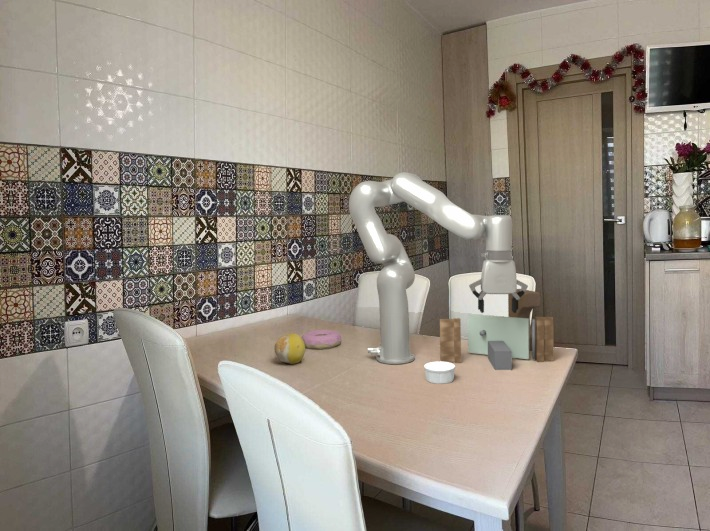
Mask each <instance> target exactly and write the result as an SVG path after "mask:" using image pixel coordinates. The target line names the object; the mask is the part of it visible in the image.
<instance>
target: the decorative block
mask: <svg viewBox="0 0 710 531" xmlns="http://www.w3.org/2000/svg"><path fill="white" fill-rule="evenodd" d="M520 290H521V288H517V291H516V293H518V292H519V291H520ZM507 296H508V297H507V298H508V299H507V300H508V301H507V303H508V306H507V308H508V311H507V312H508V314H507V317H515V318H529V352H532V324H531V313H532V311H533V309H535V308H537V307H540V306H541V293H540V292H539V291H534V290H528V289H526V291H525V293H524V294H523V295H522V296H521V297H520V299H519V300H518V310H516V313H514V312H513V311H512V299H513V296H512V295H511V294H507Z"/></svg>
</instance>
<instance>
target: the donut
mask: <svg viewBox="0 0 710 531" xmlns="http://www.w3.org/2000/svg"><path fill="white" fill-rule="evenodd" d="M300 337H301V338H302V339H303V341H304V344H305V348H307V349H309V350H327V349H332V348H334V347H337V346H339V345H340V344H341V343H342V334H341V333H340V332H338V331H337V330H332V329H315V330H309V331H307V332H305V333H304V334H303V335H302V336H300Z"/></svg>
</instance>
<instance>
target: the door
mask: <svg viewBox="0 0 710 531" xmlns="http://www.w3.org/2000/svg"><path fill="white" fill-rule="evenodd" d="M531 327H532V351H531V357H532V358H531V359H532V360H533V361H536V360H535V318H532V319H531ZM488 341H504V342H505V344H506V345H507V346H508V347H509V348H510V350H511V351H512V359H521V360H522V359H524V360H530V351H529V318H515V317H508V316H500V315H499V316H498V315H488V314H487V315H485V314H471V313H470V314H467V353H470V354H479V355H486V356H488Z"/></svg>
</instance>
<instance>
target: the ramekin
mask: <svg viewBox="0 0 710 531" xmlns="http://www.w3.org/2000/svg"><path fill="white" fill-rule="evenodd" d="M423 368H424V372H425V373H424V374H425V379H426V381H427V382H428V383H430V384H434V385H435V384H436V385H446V384H451V383H452V382H453V381H454V380H455V379H454V378H455V369H456V365H455V363H449V362H442V361H441V360H440V361H431V362H427V363H425V364H424V365H423Z"/></svg>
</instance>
